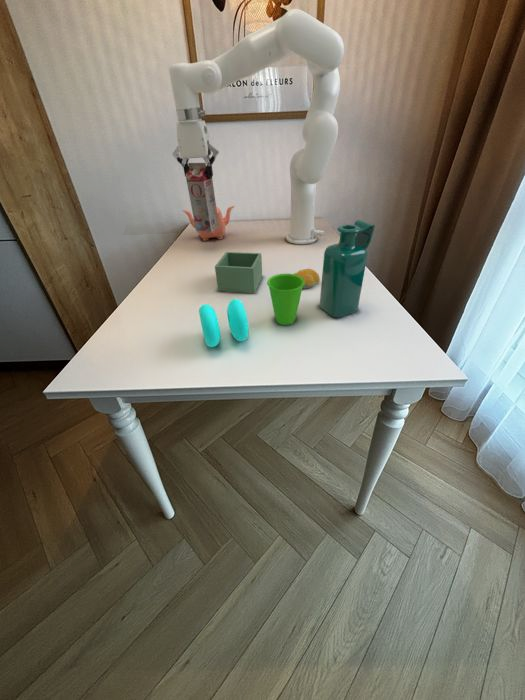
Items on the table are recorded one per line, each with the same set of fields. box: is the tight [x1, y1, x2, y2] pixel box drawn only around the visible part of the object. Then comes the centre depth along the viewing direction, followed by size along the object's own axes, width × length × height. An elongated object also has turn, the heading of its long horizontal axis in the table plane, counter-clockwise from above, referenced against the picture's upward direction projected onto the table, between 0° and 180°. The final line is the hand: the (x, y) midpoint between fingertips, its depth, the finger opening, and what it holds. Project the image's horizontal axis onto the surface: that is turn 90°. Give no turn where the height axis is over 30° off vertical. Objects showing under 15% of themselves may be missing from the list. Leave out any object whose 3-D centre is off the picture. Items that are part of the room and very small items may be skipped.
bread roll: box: [293, 268, 321, 289], centre depth 97 cm, size 8×9×4 cm
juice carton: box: [185, 162, 219, 232], centre depth 113 cm, size 7×7×22 cm
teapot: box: [181, 205, 236, 242], centre depth 132 cm, size 15×17×13 cm
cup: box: [266, 273, 305, 326], centre depth 78 cm, size 9×9×11 cm
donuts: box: [198, 298, 250, 348], centre depth 72 cm, size 10×10×10 cm
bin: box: [214, 251, 263, 294], centre depth 96 cm, size 12×12×8 cm
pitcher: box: [319, 219, 376, 319], centre depth 78 cm, size 10×8×22 cm
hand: (199, 178), depth 109 cm, fingers closed on juice carton, 7 cm apart
